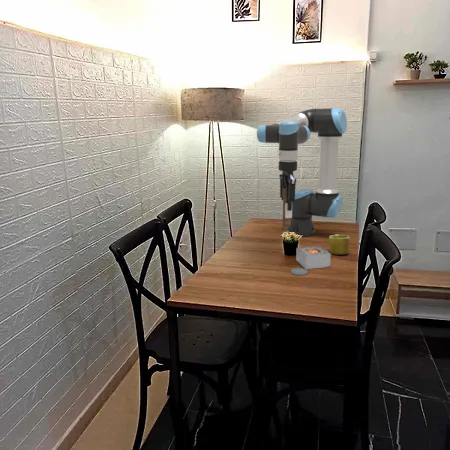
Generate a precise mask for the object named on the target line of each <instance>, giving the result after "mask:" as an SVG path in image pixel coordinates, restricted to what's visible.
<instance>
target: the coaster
mask: <svg viewBox="0 0 450 450" xmlns="http://www.w3.org/2000/svg"><path fill="white" fill-rule="evenodd" d="M308 270H309V269H305V268H304V267H295V268H292V269H290V274H292V275H294V276H300V277H301V276H306V275H308V273H309V272H308Z"/></svg>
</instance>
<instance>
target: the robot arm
mask: <svg viewBox="0 0 450 450" xmlns="http://www.w3.org/2000/svg"><path fill="white" fill-rule="evenodd" d="M347 128H348V120H347V115H346V112H345V111H344V110H343V109H342V108H335V107H333V108H332V107H331V108H309V109H306V110H302V111H300V112H297V113H294V114H293V115H292V116H291V117H290V118H289V117H288V118H287V119H284V120H281V121H279V122H275V123H272V124H270V125H269V124H268V125H267V124H264V125H263V124H262V125H260V126H258V128H257V130H256V138H257V141H258V142H259V143H262V144H278V152H277V156H278V171H281V172H282V173H281V174H279V197H280V198H281V217H283V188H286V202H285V218H291V226H290V227H286V231H289V232H295V233H296V234H298V235H303V237H311V236H313V235H315V234H316V228H315V225H314V222H313V216H314V217H322V218H331V219H335V218H337V217H338V216H339V214H340V213H341V210H342V206H343V199H344V198H343V196H342V195H339V194H340V191H339V189H337V178H338V177H337V175H338V159H339V142H340V141H339V140H341V138H343V134H344V133H346V131H347ZM311 133H312V134H313V133H316V134H317V137H318V139H319V140H320V147H319V149H320V151H319V152H320V153H319V154H320V155H319V172H318V173H319V174H318V177H319V178H318V188H317V189H316V190H315V192H314V190H313V189H300V190H296V185H297V178H295V176H294V172H295V171H297V170H298V161H297V160H298V156H299V154H298V153H299V151H298V147H299V146H298V145H302V144H304V143H306V142H308V141H309V139H310V137H311Z"/></svg>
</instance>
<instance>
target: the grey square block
mask: <svg viewBox="0 0 450 450" xmlns="http://www.w3.org/2000/svg"><path fill="white" fill-rule="evenodd" d="M309 250H317V251H318V252H317V253H309ZM295 252H296V253H295V255H296V257H295V261H296V262H297V263H298V264H299V265H301V266H302V268H303V269H306V270H311V269H312V270H313V269H322V268H330V267H331V259H332V258H331V256H332V254H331V253H330V251H328V250H326V249H325V248H324V247H323V246H321V245H313V246H302V247H296V251H295Z"/></svg>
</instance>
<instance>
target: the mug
mask: <svg viewBox="0 0 450 450" xmlns="http://www.w3.org/2000/svg"><path fill="white" fill-rule="evenodd" d="M350 240H351V239H350V236H349V235H346V234H338V233H337V234H336V233H335V234H333V235H329V237H328V246H329V247H328V248H329V253H331V255H335V256H340V255H341V256H342V255H347V254H349V252H350V242H351V241H350Z"/></svg>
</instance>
